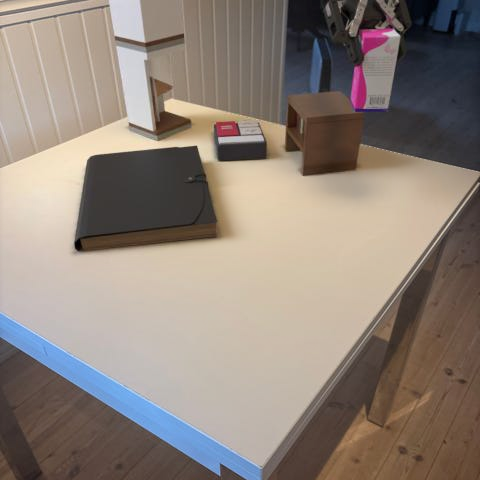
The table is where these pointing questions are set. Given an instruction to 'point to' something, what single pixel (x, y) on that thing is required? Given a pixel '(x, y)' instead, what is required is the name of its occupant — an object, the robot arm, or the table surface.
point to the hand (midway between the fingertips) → (380, 60)
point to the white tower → (148, 62)
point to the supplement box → (375, 70)
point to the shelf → (323, 131)
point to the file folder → (144, 199)
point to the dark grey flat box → (239, 140)
